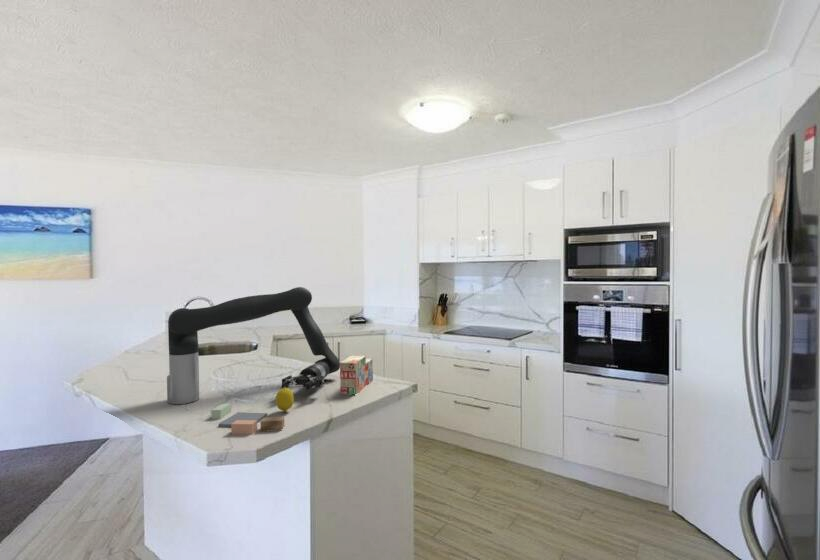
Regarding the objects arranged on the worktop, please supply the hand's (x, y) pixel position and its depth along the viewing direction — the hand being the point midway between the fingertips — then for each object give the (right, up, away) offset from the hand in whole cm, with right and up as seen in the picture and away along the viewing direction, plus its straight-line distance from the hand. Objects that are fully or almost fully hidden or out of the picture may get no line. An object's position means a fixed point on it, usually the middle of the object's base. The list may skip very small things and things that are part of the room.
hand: (294, 386), depth 135 cm
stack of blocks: (+19, -6, +20) cm, 28 cm away
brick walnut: (0, -6, -22) cm, 23 cm away
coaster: (-11, -6, -15) cm, 20 cm away
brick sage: (-20, -7, -10) cm, 24 cm away
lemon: (-1, -6, -8) cm, 10 cm away
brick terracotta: (-7, -6, -24) cm, 26 cm away
